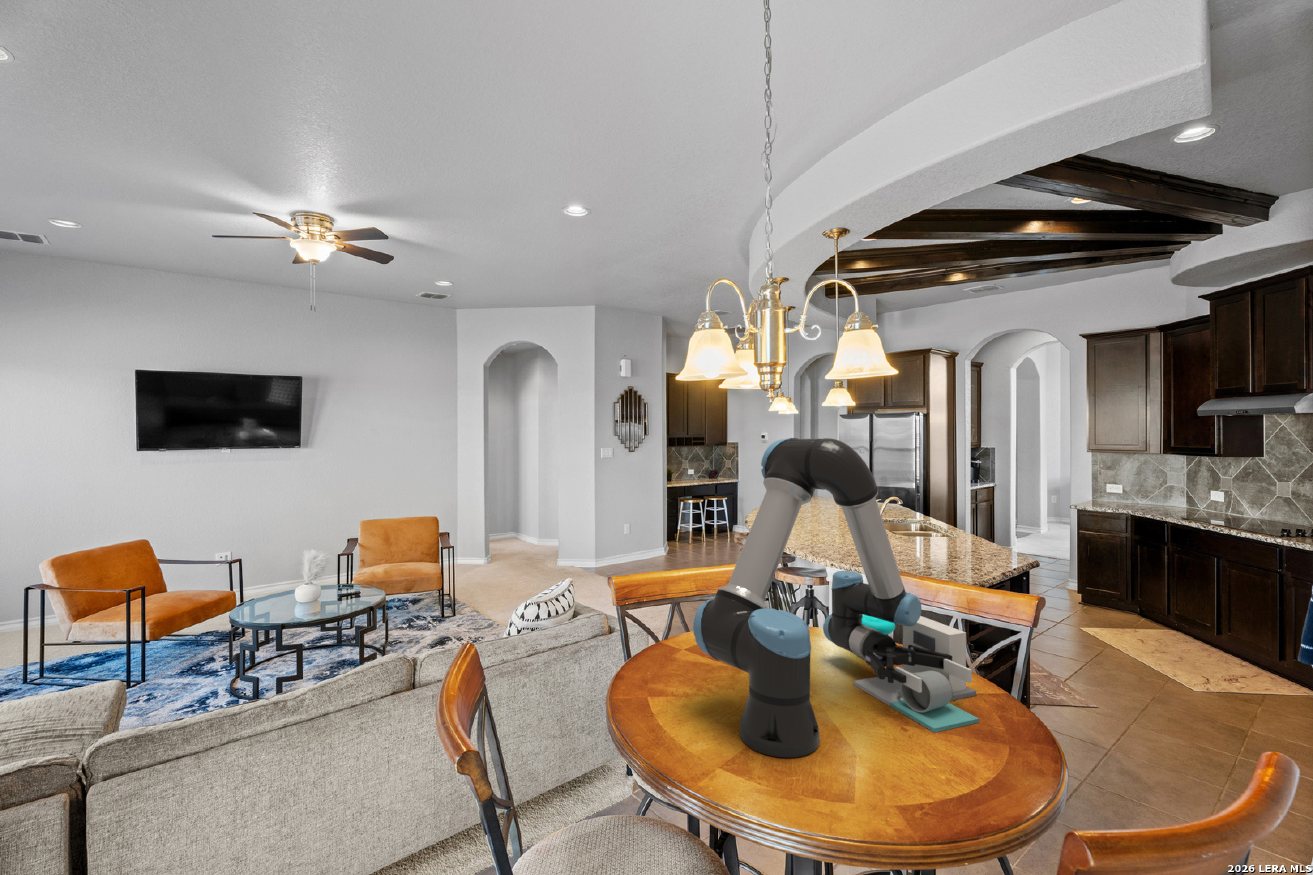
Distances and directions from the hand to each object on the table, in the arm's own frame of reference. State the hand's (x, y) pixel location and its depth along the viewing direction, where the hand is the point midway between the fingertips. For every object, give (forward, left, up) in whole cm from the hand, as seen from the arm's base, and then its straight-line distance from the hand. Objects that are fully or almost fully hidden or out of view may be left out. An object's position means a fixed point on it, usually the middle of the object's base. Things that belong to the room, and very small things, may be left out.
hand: (946, 680), depth 118 cm
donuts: (+12, +34, -9) cm, 37 cm away
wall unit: (+12, +15, -8) cm, 21 cm away
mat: (0, +9, -8) cm, 12 cm away
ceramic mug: (-1, +6, -8) cm, 10 cm away
